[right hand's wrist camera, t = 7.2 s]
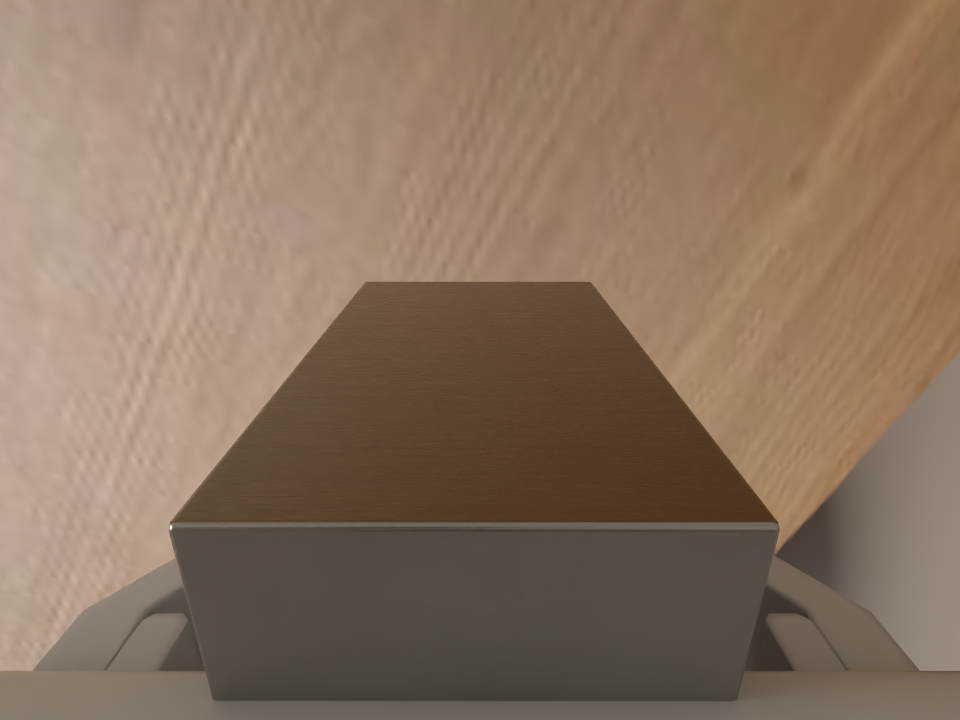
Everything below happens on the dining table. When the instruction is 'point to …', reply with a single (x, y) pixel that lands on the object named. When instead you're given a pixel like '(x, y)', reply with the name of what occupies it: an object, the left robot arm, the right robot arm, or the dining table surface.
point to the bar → (475, 515)
